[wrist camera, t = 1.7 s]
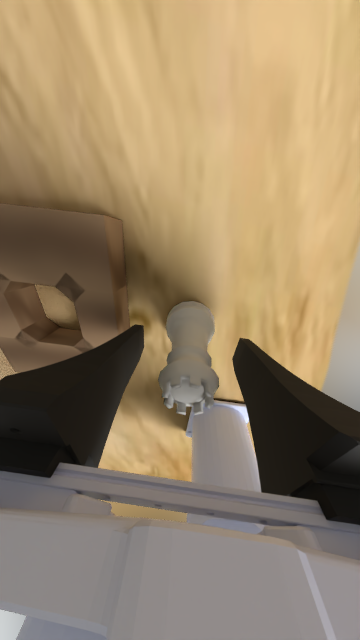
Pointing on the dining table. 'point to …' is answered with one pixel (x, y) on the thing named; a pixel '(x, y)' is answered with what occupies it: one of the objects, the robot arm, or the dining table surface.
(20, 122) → the dining table surface
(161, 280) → the dining table surface
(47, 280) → the socket board
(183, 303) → the rook chess piece
